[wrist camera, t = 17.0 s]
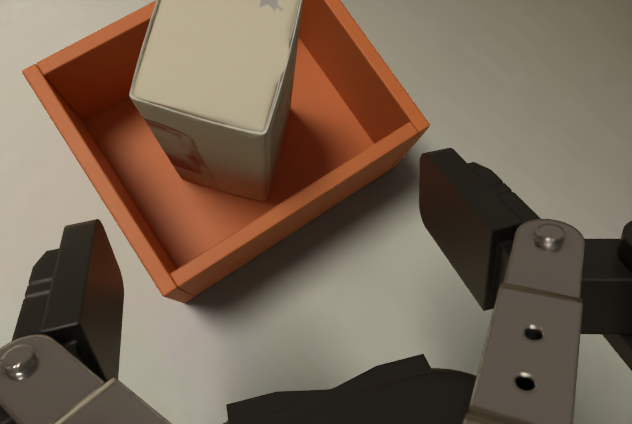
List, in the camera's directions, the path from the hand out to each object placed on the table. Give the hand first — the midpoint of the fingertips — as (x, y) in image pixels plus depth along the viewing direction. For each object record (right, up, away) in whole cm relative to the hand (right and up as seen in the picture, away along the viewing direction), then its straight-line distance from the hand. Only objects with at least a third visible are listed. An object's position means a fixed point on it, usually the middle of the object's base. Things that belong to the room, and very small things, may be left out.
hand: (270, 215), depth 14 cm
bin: (-3, +3, +13) cm, 14 cm away
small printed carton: (-3, +3, +13) cm, 13 cm away
